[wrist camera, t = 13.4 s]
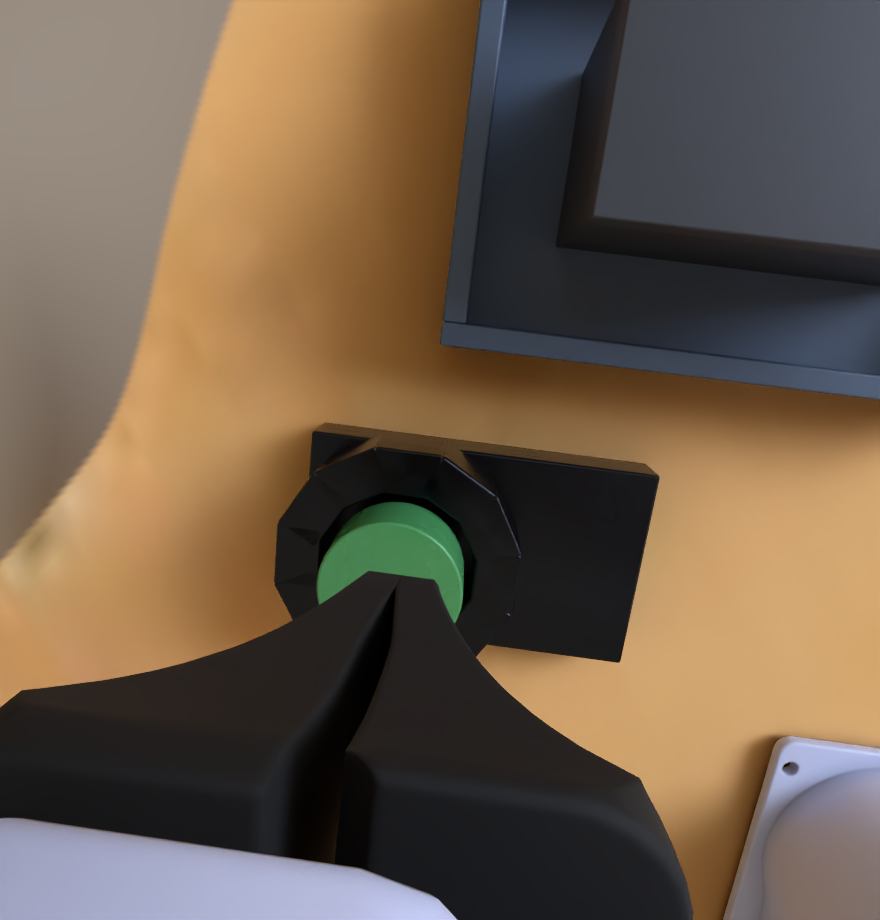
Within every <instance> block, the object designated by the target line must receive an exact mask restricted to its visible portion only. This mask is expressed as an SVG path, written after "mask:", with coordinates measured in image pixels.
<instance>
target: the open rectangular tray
mask: <svg viewBox="0 0 880 920" xmlns="http://www.w3.org/2000/svg"><path fill="white" fill-rule="evenodd" d="M615 1H616V0H480V7H479V16H478V24H477V32H476V41H475V49H474V58H473V66H472V75H471V83H470V92H469V100H468V109H467V117H466V126H465V134H464V143H463V151H462V160H461V168H460V177H459V185H458V194H457V202H456V211H455V219H454V227H453V236H452V244H451V253H450V261H449V270H448V278H447V287H446V295H445V304H444V312H443V321H445V322H443V323H442V329H441V337H440V345H443V346H451V347H459V348H467V349H475V350H483V351H491V352H499V353H507V354H515V355H523V356H531V357H539V358H547V359H555V360H563V361H571V362H579V363H587V364H595V365H603V366H611V367H619V368H627V369H635V370H643V371H651V372H659V373H667V374H675V375H683V376H691V377H699V378H707V379H715V380H723V381H731V382H739V383H747V384H755V385H763V386H771V387H779V388H787V389H795V390H803V391H811V392H819V393H827V394H835V395H843V396H851V397H859V398H867V399H875V400H880V286H873V285H865V284H857V283H849V282H840V281H832V280H824V279H816V278H807V277H799V276H791V275H783V274H774V273H766V272H758V271H750V270H741V269H733V268H725V267H717V266H708V265H700V264H692V263H684V262H675V261H667V260H659V259H651V258H642V257H634V256H626V255H618V254H609V253H601V252H593V251H585V250H576V249H568V248H560V247H556V241H557V234H558V228H559V221H560V215H561V209H562V202H563V196H564V190H565V183H566V177H567V171H568V164H569V158H570V152H571V145H572V139H573V133H574V126H575V120H576V114H577V107H578V101H579V95H580V88H581V82H582V75H583V72H584V70H585V67H586V65H587V63H588V61H589V59H590V56H591V54H592V52H593V50H594V48H595V45H596V43H597V41H598V39H599V37H600V34H601V32H602V30H603V28H604V25H605V23H606V21H607V19H608V17H609V14H610V12H611V10H612V8H613V6H614V3H615Z"/></svg>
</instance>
